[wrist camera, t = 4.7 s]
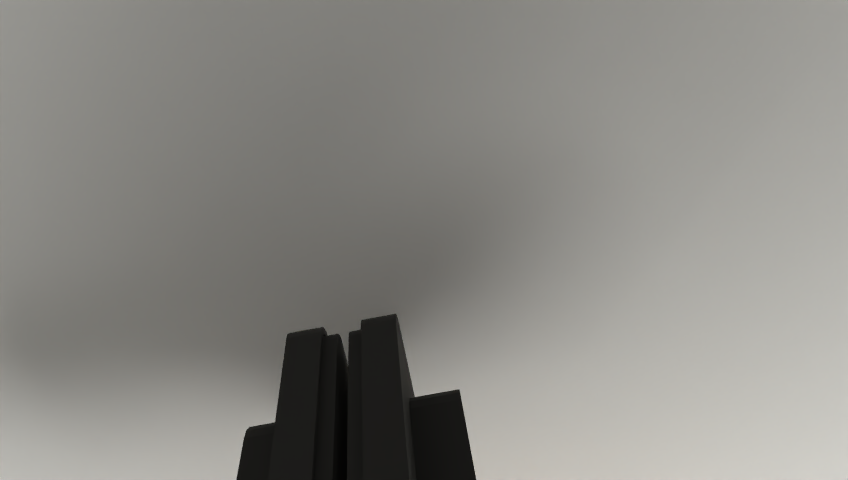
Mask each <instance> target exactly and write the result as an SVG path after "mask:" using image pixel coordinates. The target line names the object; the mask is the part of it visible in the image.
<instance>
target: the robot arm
mask: <svg viewBox="0 0 848 480" xmlns="http://www.w3.org/2000/svg"><path fill="white" fill-rule="evenodd" d="M237 480H476V476H475V471H474V466H473V460H472V455H471V450H470V444H469V439H468V433H467V428H466V423H465V417H464V412H463V406H462V401H461V396H460V390H453V391H448V392H442V393H436V394H431V395H425V396H420V397H415V396H414V392H413V387H412V382H411V378H410V373H409V368H408V364H407V359H406V354H405V350H404V345H403V340H402V336H401V331H400V326H399V322H398V318H397V315H396V314H393V315H387V316H382V317H376V318H370V319H365V320H361V330H357V331H351V332H349V351H348V364H347V360H346V356H345V352H344V348H343V344H342V341H341V338H340V335H339V334H335V335H329V336H327V332H326V330H325V328H324V327H321V328H315V329H310V330H304V331H299V332H293V333H289V334H287V338H286V346H285V353H284V361H283V368H282V376H281V383H280V391H279V398H278V406H277V413H276V421H275V423H270V424H264V425H259V426H253V427H249V428H248V429H247V430H246V433H245V437H244V441H243V447H242V452H241V458H240V463H239V469H238V475H237Z"/></svg>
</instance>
